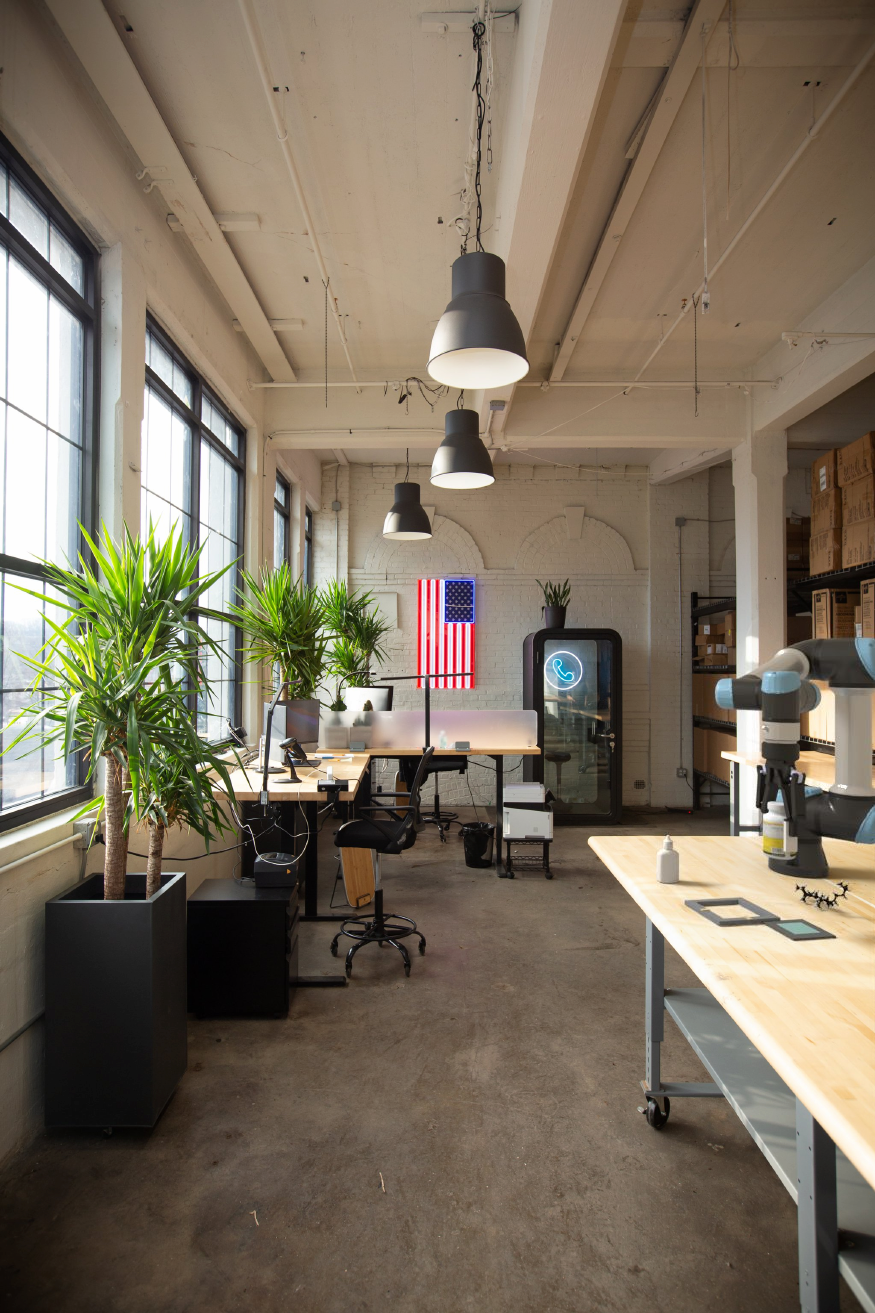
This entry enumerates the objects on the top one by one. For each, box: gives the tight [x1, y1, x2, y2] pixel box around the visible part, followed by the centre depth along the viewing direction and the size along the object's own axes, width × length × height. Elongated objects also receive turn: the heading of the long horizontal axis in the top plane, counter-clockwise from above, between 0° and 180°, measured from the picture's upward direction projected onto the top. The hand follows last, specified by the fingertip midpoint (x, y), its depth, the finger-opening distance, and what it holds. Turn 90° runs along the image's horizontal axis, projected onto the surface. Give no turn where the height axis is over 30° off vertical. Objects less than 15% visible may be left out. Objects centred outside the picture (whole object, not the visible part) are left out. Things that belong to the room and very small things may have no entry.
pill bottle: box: [762, 801, 796, 860], centre depth 154 cm, size 6×6×12 cm
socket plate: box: [684, 896, 782, 927], centre depth 161 cm, size 15×14×1 cm
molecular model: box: [794, 879, 852, 911], centre depth 167 cm, size 6×15×8 cm, turn 19°
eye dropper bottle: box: [656, 834, 680, 884], centre depth 185 cm, size 4×6×12 cm
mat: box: [761, 918, 837, 942], centre depth 151 cm, size 10×10×1 cm
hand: (779, 847), depth 154 cm, fingers closed on pill bottle, 6 cm apart
